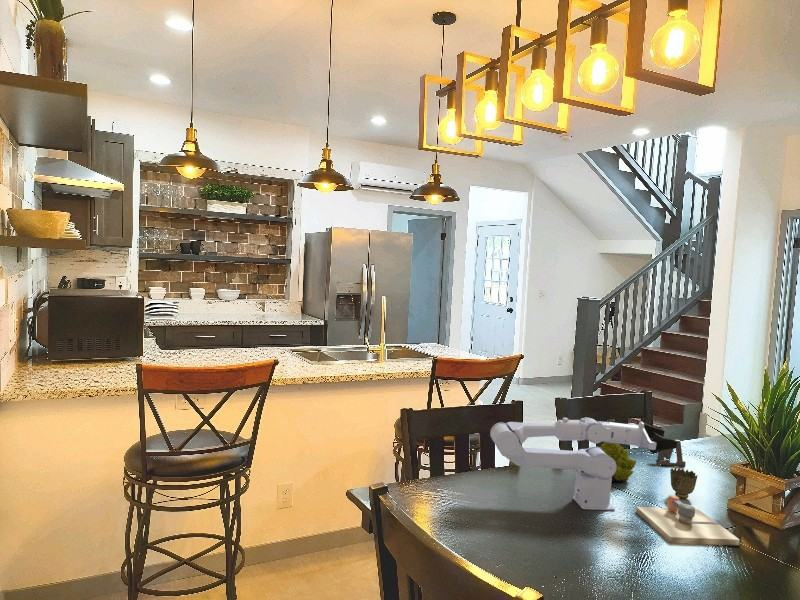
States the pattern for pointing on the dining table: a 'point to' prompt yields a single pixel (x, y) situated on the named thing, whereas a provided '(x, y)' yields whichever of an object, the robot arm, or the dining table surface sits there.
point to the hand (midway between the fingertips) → (669, 439)
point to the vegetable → (619, 461)
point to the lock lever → (680, 507)
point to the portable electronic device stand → (668, 455)
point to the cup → (682, 482)
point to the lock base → (687, 527)
